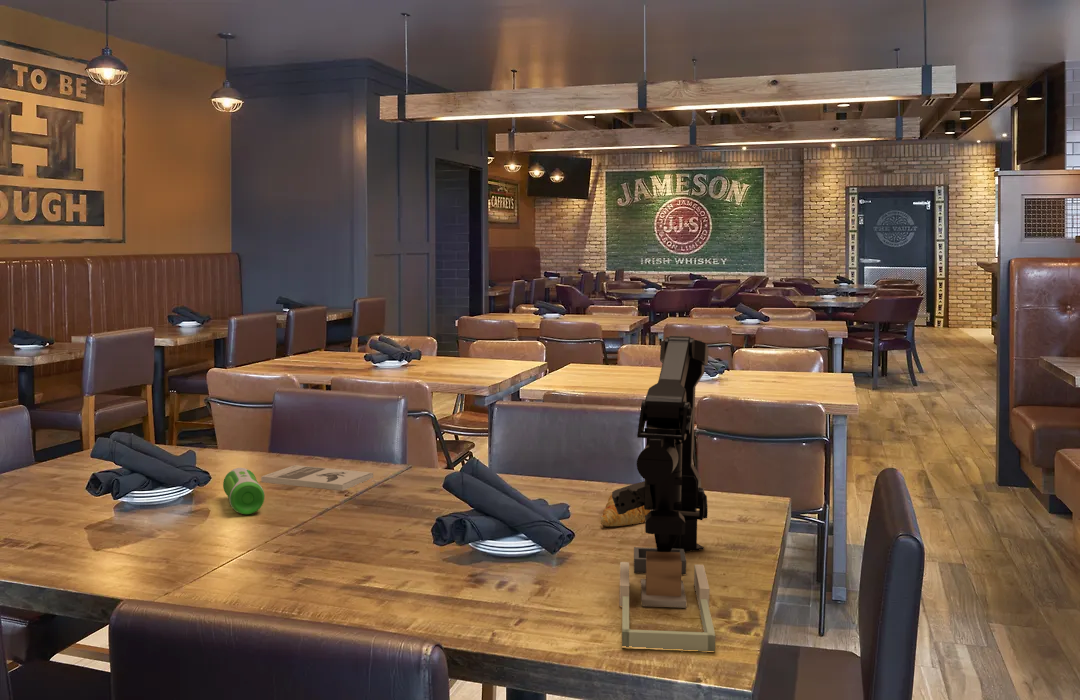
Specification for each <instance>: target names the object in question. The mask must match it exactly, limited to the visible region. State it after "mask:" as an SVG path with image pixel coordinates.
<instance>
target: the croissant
mask: <svg viewBox="0 0 1080 700" xmlns="http://www.w3.org/2000/svg"><path fill="white" fill-rule="evenodd" d="M649 512H650V510H645V509H644V505H643V506H641V507H639V508H636V509H633V510H629V511H627V512H626V513H624V514H618V513H617V510H616V507H615V504H614V501H613V499H612V494H610V496H609V497H608V498H607V503H606V504H605V508H604V510H603V512H602V515H601V516H600V523H601V525H602V526H603V527H621V526H622V527H623V526H631V525H632V524H633V525H638V524H643V523H645V515H647V514H648V513H649ZM633 525H632V526H633Z"/></svg>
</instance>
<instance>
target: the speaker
mask: <svg viewBox="0 0 1080 700" xmlns="http://www.w3.org/2000/svg"><path fill="white" fill-rule="evenodd" d="M222 487H223V490H224V493H225V494H226V496H227V498H228V500H229V504H230V507H231V508H232V509H233V510H234V511H235V512H237V513H239V514H241V515H251V514H254V513H256V512H258V511H259V510H260V509H261V508H262V506H263V504H264V502H265V491H264V489H263V487H262V485H261V484H260V483H259V481H258V480H257V478H256V475H255V474H254V472H252V471H251V470H249V469H248V468H245V467H236V468H233V469H231V470H230V471H228V473H227V474H226V475H225V477H224V479H223V481H222Z"/></svg>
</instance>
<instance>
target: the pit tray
mask: <svg viewBox="0 0 1080 700" xmlns="http://www.w3.org/2000/svg"><path fill="white" fill-rule="evenodd" d="M646 551H653V552H657V547H639V546H637V547H636V546H634V547H633V573H634V574H646ZM671 552H680V556H681V562H682V574H686V575H687V557H686V552H684V549H675V548H672V550H671Z"/></svg>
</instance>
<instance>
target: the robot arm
mask: <svg viewBox="0 0 1080 700" xmlns="http://www.w3.org/2000/svg"><path fill="white" fill-rule="evenodd" d="M659 350H660V352H659V361H660V363H661V364H662V365H661V367H660V368H661V369H660V373H659V376H658V380H657V383H655V384H653V385H652V386H650V387H649V388H648V390H647V393H646V395H645V399H642V400H641V403H640V405H641V406H640V412H639V420H638V427H637V432H636V433H637V434H636V436H637V438H638V439H639V438H640V439H646V443H645V447H644V448H643V449H642V451H641V452H640V453H639V455H638V457H637V459H636V469H637V471H638V474H639V475H640V477H642V478H643V479H644V481H640V482H637V483H633V484H630V485H627V486H624V487H620V488H617V489H615V490H613V491H612V493H611V495H612V499H613V501H614V504H615V507H616V510H617V513H618V514H624V513H626V512H627V511H629V510H633V509H636V508H639V507H641V506H643V505H644V509H645V510H650V512H649V513H648V514H647V515H645V522H644V526H645V527H644V529H645V530H644V531H645V534H649V535H654V540H655V546H656V547H655V548H657V552H671V550H672V548H675V549H684V552H685V553H686V552H687V553H689V552H698V551H703V550H704V549H705V548H704V547H705V546H702V545H700V544H699V543H698V542H697V541H698V520H699V521H703V519H708V496H707V494H705V489H704V487H702V478H701V475H700V474H699V472H698V470H697V468H696V467H695V465H694V449H695V446H694V443H695V416H696V415H695V412H696V411H695V409H696V407H695V406H696V387H697V385H698V384H699V383H700V380H701V379H702V378H703V376H704V374H705V368H706V367H705V366H708V363H709V346H708V344H707V343H706V342H704V341H703V340H699V339H698V340H697V339H695V338H694V337H691V336H689V335H669V336H666V337H665V339H664V340H661V341H660V349H659Z"/></svg>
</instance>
